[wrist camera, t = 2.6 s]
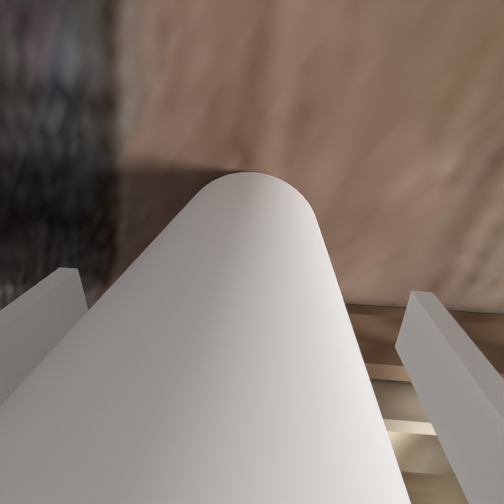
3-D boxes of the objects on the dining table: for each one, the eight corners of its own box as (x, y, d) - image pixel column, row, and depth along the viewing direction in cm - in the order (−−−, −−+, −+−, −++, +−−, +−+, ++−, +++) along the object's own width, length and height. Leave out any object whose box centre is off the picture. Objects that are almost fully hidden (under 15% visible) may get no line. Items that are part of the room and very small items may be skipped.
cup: (232, 317, 21) (127, 791, 6) (153, 219, 18) (-323, 656, 4) (343, 262, 18) (576, 828, 4) (272, 140, 16) (208, 521, 1)
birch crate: (319, 459, 25) (330, 555, 20) (345, 330, 19) (371, 417, 14) (489, 475, 24) (549, 580, 19) (570, 346, 18) (690, 445, 13)
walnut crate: (301, 454, 27) (305, 525, 22) (325, 302, 20) (339, 361, 15) (492, 473, 26) (538, 551, 21) (588, 320, 19) (686, 388, 14)
